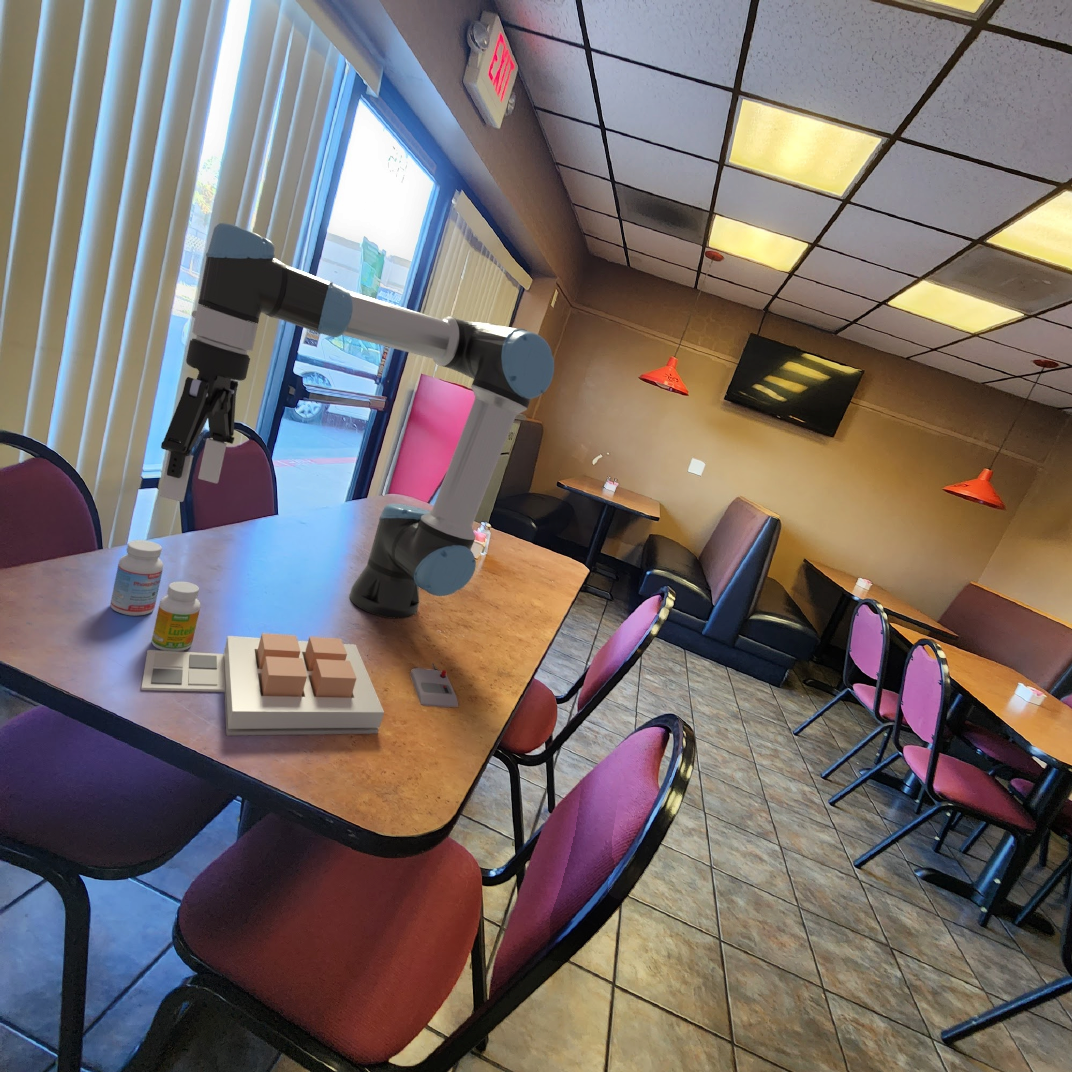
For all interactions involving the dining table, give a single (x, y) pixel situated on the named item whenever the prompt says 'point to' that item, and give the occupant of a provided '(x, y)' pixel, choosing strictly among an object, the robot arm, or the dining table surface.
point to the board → (293, 699)
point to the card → (183, 671)
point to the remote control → (433, 687)
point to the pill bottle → (137, 579)
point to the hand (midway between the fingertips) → (191, 489)
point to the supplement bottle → (177, 617)
